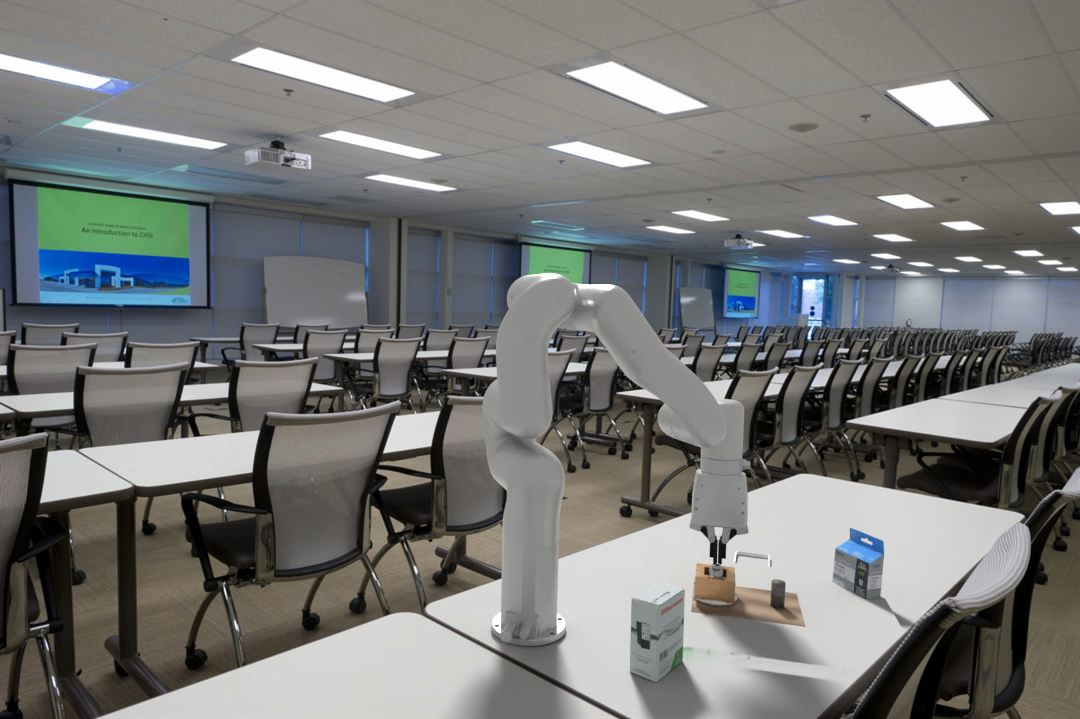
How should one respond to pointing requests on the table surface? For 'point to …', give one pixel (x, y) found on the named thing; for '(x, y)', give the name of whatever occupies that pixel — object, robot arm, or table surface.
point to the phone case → (752, 555)
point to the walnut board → (760, 605)
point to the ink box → (657, 630)
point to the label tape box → (859, 565)
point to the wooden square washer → (715, 584)
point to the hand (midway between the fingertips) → (717, 561)
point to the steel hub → (713, 571)
